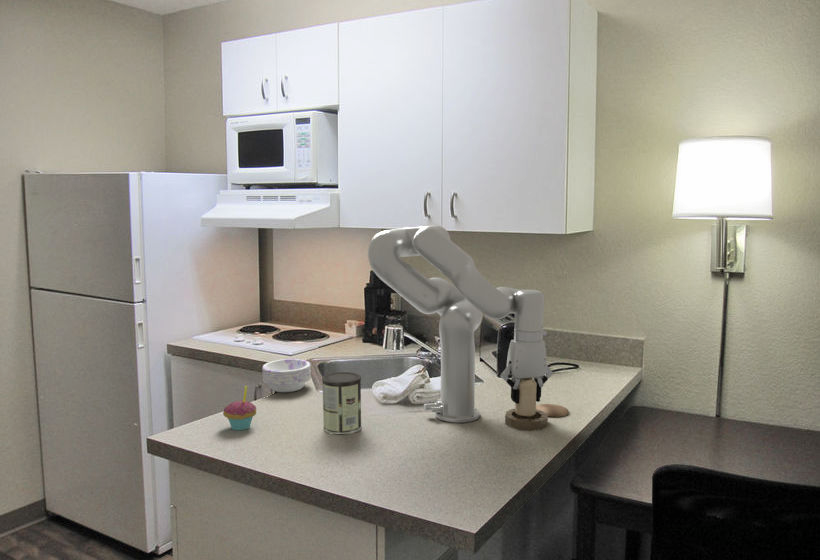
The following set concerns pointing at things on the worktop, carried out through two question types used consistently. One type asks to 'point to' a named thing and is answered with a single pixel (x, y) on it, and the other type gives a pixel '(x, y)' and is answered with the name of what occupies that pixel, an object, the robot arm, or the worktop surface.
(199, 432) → the worktop surface
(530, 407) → the candle
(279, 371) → the paper bowls
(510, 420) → the ring
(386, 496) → the worktop surface
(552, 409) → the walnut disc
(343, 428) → the coffee can
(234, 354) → the worktop surface
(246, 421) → the cupcake
